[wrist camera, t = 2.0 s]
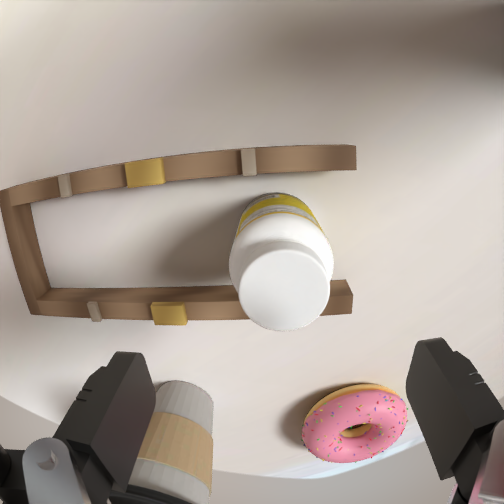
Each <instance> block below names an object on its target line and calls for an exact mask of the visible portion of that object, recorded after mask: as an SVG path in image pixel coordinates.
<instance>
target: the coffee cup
mask: <svg viewBox="0 0 504 504" xmlns="http://www.w3.org/2000/svg"><path fill="white" fill-rule="evenodd" d="M212 424H213V401H212V398H211V397H210V395H209V394H208V393H206V392H205V391H204V390H202V389H201V388H199V387H197V386H195V385H193V384H190V383H187V382H182V381H171V382H167V383H165V384H163V385H162V386H161V387H160V388H159V390H158V391H157V393H156V404H155V409H154V412H153V415H152V417H151V420H150V423H149V426H148V428H147V431H146V434H145V437H144V440H143V442H142V445H141V448H140V451H139V454H138V457H137V460H136V462H135V465H134V468H133V471H132V474H131V477H130V480H129V483H128V486H127V489H126V492H125V493H123V492H119V491H115V490H111V492H110V494H109V497H108V499H109V500H110V502H111V504H209V497H210V494H211V484H212V459H213V439H212Z"/></svg>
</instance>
